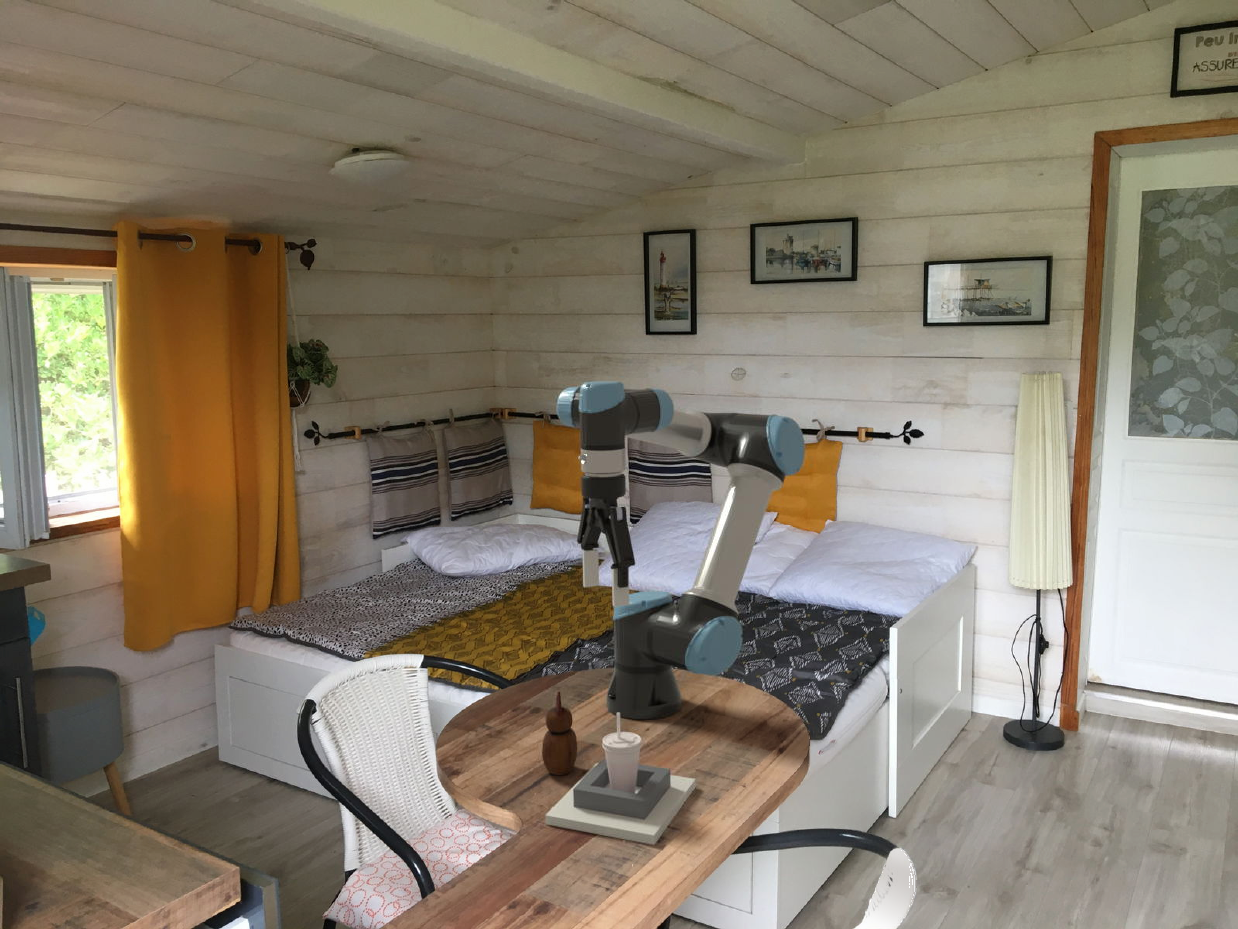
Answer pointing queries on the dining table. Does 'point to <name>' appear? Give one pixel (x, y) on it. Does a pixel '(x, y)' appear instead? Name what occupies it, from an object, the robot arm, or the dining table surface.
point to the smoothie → (622, 758)
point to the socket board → (620, 822)
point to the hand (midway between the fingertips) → (605, 595)
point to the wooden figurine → (559, 740)
